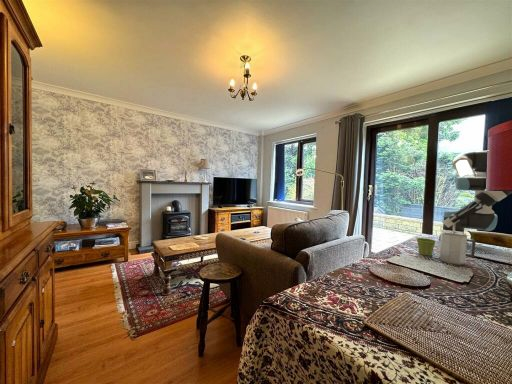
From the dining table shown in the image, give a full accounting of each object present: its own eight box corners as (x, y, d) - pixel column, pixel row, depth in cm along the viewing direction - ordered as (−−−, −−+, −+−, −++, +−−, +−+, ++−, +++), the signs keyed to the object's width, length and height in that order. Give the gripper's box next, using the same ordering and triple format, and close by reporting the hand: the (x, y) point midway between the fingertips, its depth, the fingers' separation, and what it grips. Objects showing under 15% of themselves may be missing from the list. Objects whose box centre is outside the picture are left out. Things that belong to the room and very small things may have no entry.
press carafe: (437, 256, 126) (439, 229, 125) (470, 261, 118) (472, 232, 118) (440, 262, 117) (442, 232, 116) (476, 267, 110) (478, 236, 109)
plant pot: (412, 252, 132) (412, 238, 131) (421, 250, 136) (421, 237, 135) (429, 257, 123) (430, 242, 123) (438, 255, 127) (439, 241, 127)
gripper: (477, 190, 118) (436, 217, 128) (488, 191, 104) (441, 221, 114) (490, 200, 116) (447, 227, 126) (504, 203, 101) (454, 233, 111)
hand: (444, 224), depth 120 cm, fingers closed on plunger, 4 cm apart
